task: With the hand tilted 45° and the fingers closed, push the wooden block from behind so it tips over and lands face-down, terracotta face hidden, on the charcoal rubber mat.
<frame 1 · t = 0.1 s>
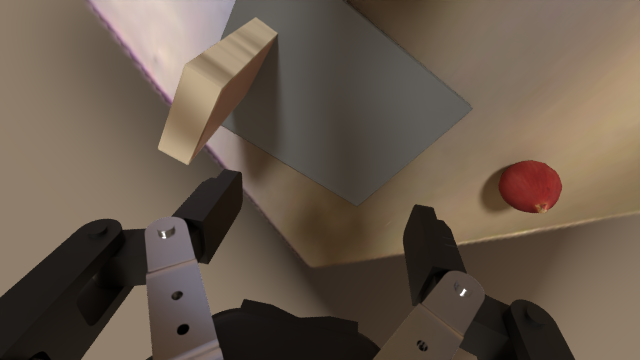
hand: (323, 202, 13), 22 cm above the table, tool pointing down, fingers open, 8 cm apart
wooden block: (250, 58, 31), point 1 cm above the table, touching mat
mat: (324, 104, 34), on the table
onion: (516, 165, 36), on the table
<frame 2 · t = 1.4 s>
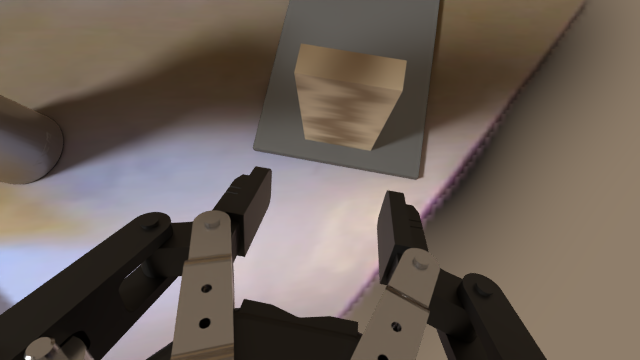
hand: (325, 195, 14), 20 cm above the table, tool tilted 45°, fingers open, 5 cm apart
wooden block: (339, 135, 35), point 1 cm above the table, touching mat
mat: (351, 71, 38), on the table
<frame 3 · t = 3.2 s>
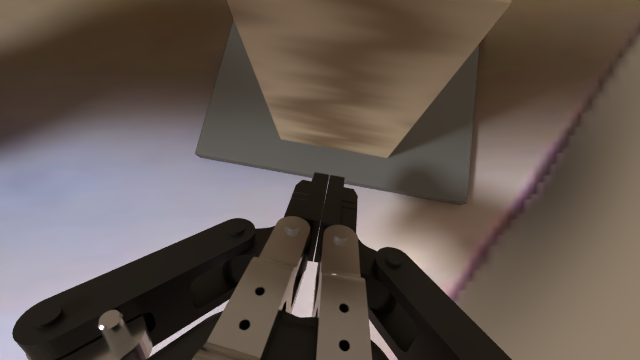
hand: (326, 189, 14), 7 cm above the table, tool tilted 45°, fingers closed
wooden block: (336, 132, 21), point 1 cm above the table, touching mat
mat: (354, 33, 24), on the table
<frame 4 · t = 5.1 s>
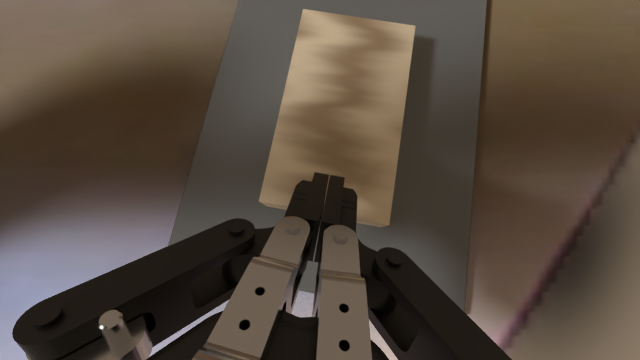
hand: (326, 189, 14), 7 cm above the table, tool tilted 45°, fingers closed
wooden block: (323, 215, 18), point 2 cm above the table, tilted 90°, touching mat
mat: (341, 116, 22), on the table
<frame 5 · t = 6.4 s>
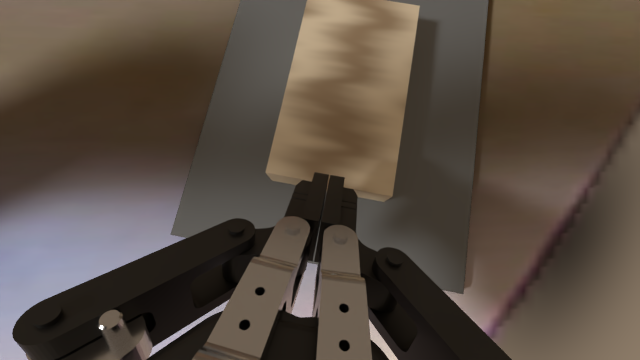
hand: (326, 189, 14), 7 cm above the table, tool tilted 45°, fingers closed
wooden block: (327, 188, 19), point 2 cm above the table, tilted 90°, touching mat
mat: (345, 96, 23), on the table
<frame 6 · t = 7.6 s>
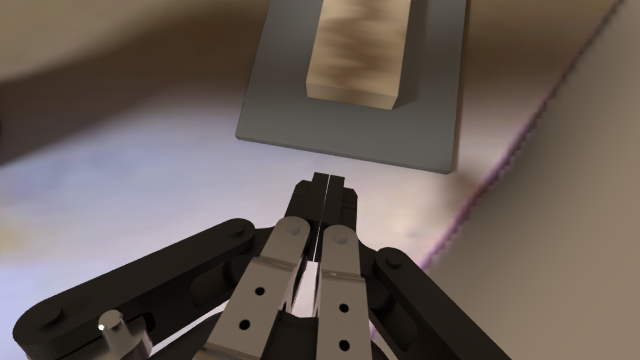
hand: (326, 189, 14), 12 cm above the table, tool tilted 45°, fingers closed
wooden block: (350, 96, 26), point 2 cm above the table, tilted 90°, touching mat
mat: (360, 39, 30), on the table
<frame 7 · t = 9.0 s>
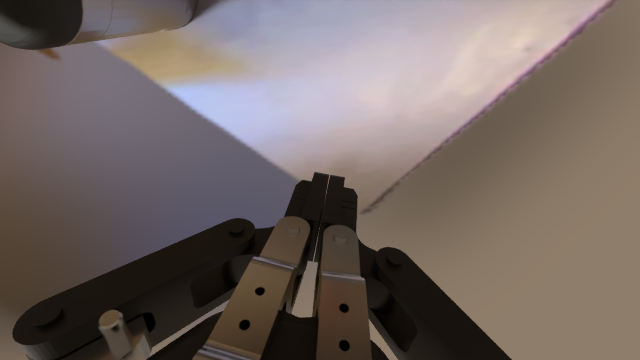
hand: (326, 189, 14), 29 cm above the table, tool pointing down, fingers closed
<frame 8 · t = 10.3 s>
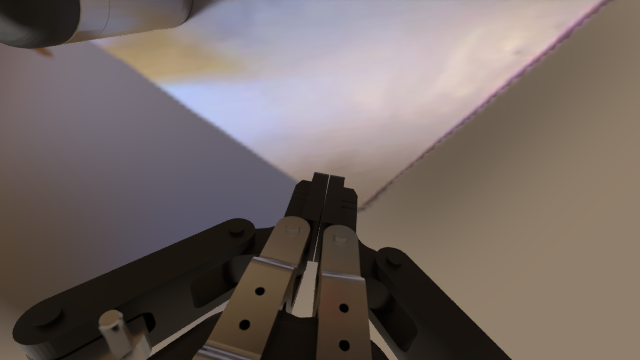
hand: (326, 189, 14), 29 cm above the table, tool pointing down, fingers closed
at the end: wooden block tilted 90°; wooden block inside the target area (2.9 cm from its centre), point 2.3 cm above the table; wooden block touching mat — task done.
